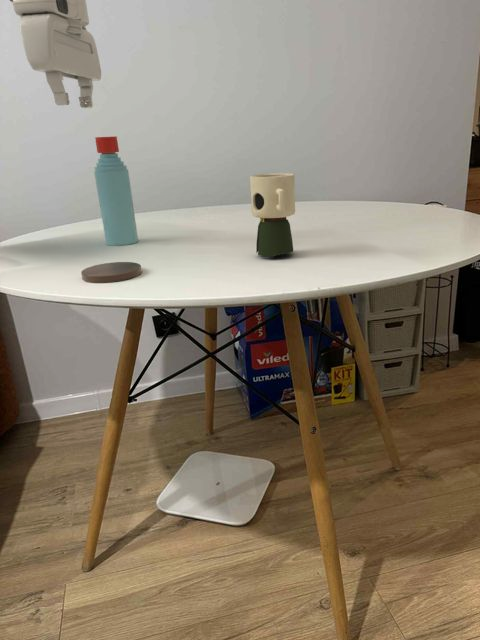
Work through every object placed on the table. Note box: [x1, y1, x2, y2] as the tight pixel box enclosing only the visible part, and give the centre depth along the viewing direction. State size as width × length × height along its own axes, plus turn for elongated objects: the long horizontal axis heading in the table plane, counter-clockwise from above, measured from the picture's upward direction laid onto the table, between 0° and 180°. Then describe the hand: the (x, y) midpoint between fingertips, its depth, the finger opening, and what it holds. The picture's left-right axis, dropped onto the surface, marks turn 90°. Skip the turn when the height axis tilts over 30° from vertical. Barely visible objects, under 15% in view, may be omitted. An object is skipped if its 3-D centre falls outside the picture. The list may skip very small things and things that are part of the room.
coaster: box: [80, 261, 143, 284], centre depth 78 cm, size 9×9×1 cm
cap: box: [94, 136, 120, 154], centre depth 95 cm, size 4×4×3 cm
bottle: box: [93, 152, 139, 247], centre depth 99 cm, size 6×6×20 cm
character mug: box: [249, 172, 296, 258], centre depth 82 cm, size 11×7×13 cm, turn 15°
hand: (75, 106), depth 86 cm, fingers open, 8 cm apart
